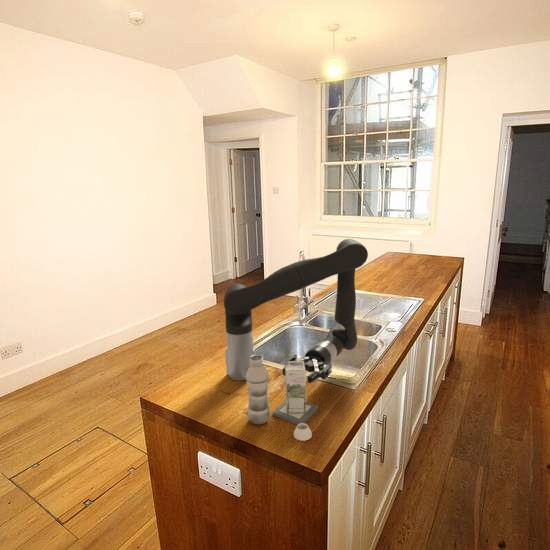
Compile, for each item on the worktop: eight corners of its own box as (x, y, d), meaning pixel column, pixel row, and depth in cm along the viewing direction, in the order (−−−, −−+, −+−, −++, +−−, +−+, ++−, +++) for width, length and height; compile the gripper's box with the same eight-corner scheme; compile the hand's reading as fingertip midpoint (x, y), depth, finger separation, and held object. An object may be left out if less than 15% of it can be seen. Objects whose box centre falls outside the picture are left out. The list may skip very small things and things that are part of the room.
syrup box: (304, 402, 118) (303, 359, 114) (306, 413, 112) (305, 368, 109) (285, 403, 118) (284, 360, 114) (286, 414, 112) (285, 369, 109)
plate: (272, 415, 114) (272, 411, 114) (290, 399, 122) (290, 396, 122) (301, 426, 108) (301, 422, 108) (318, 408, 116) (318, 405, 116)
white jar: (289, 436, 104) (304, 444, 101) (289, 427, 104) (304, 434, 100) (300, 427, 108) (315, 434, 105) (300, 418, 107) (315, 425, 104)
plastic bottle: (252, 412, 116) (249, 351, 111) (273, 415, 114) (271, 354, 109) (244, 425, 110) (240, 361, 105) (266, 429, 108) (264, 364, 103)
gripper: (302, 340, 129) (275, 359, 116) (341, 349, 121) (317, 371, 108) (302, 360, 131) (276, 381, 118) (341, 371, 123) (317, 394, 110)
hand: (295, 376), depth 113 cm, fingers open, 8 cm apart
